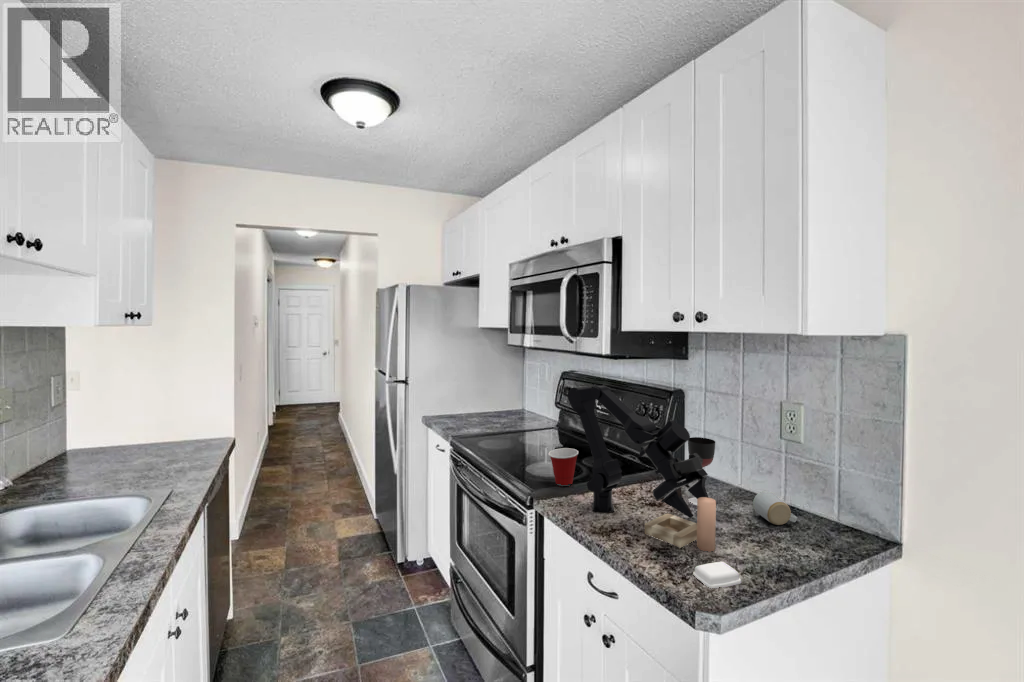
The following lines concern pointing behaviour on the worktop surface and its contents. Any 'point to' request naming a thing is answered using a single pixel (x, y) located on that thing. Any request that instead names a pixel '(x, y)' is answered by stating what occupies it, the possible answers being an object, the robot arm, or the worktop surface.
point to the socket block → (672, 530)
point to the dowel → (706, 523)
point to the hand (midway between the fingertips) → (701, 512)
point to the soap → (717, 575)
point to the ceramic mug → (772, 508)
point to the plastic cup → (563, 464)
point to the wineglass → (701, 453)
